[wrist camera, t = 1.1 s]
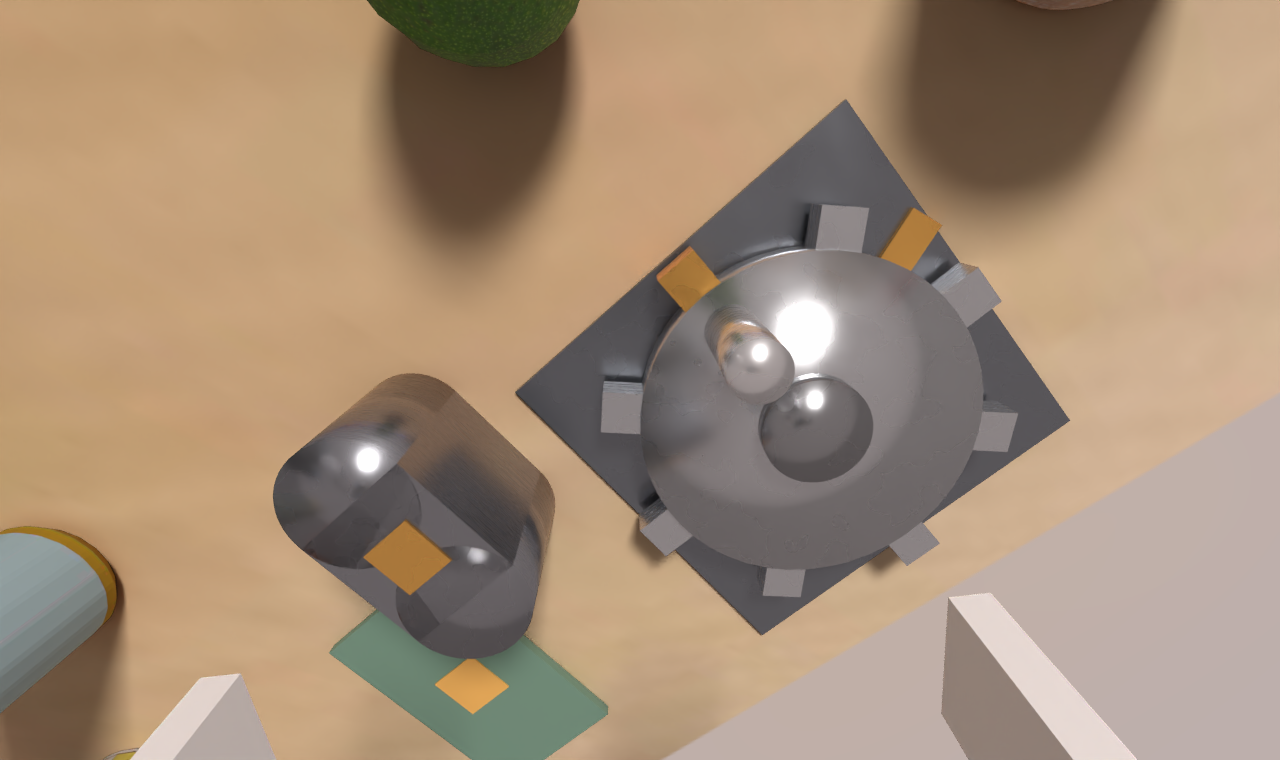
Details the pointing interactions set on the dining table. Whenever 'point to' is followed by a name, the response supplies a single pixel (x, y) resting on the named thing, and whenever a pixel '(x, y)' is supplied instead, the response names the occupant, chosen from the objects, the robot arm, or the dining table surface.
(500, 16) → the fruit
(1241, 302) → the dining table surface
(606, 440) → the bearing plate
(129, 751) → the canned food
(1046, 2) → the planter
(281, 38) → the dining table surface
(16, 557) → the bottle
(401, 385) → the silver capsule block
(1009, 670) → the robot arm
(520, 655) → the green flat board
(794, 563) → the sprocket
